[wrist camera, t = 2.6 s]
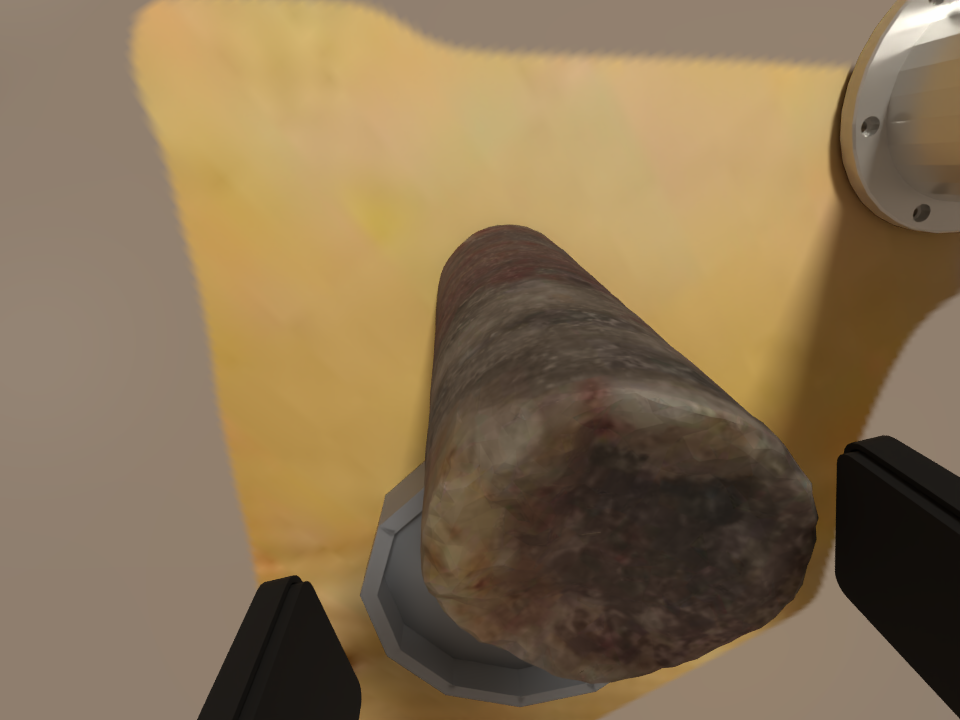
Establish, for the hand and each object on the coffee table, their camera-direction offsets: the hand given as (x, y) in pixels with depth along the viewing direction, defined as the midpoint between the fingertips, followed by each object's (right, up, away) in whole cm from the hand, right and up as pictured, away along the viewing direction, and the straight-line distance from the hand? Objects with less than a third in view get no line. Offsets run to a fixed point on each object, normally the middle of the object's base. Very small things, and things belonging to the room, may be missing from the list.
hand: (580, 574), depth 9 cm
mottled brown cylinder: (0, +7, +19) cm, 20 cm away
